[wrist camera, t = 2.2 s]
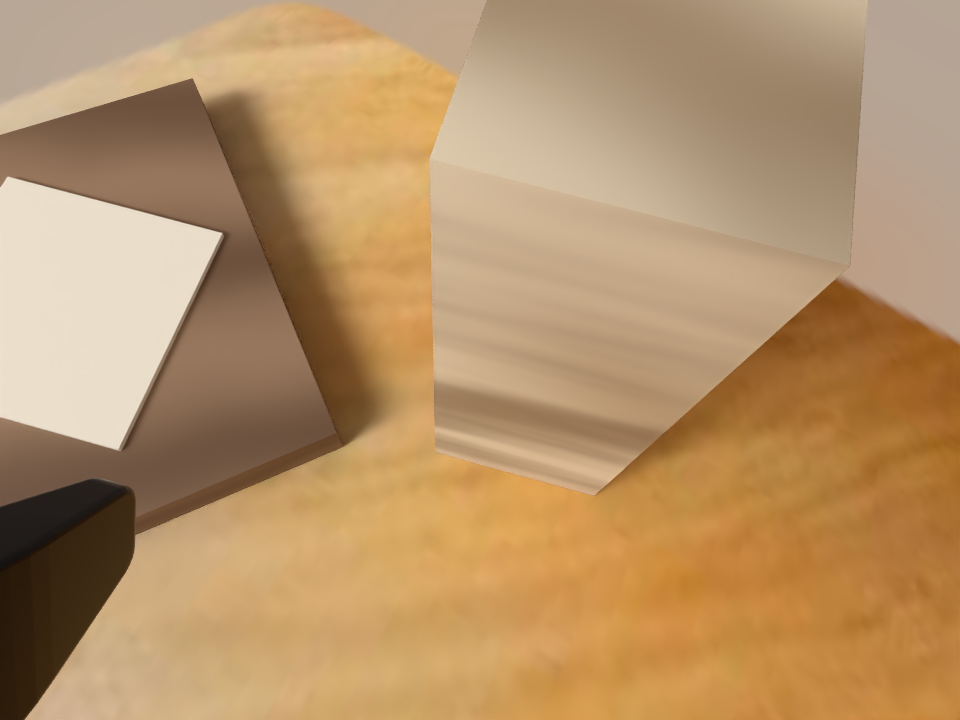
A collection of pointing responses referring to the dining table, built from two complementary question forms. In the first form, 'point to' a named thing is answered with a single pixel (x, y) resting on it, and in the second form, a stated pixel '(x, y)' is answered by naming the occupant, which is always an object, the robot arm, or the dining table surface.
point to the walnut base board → (143, 315)
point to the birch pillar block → (630, 216)
